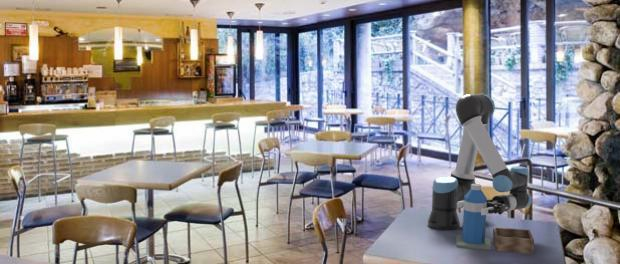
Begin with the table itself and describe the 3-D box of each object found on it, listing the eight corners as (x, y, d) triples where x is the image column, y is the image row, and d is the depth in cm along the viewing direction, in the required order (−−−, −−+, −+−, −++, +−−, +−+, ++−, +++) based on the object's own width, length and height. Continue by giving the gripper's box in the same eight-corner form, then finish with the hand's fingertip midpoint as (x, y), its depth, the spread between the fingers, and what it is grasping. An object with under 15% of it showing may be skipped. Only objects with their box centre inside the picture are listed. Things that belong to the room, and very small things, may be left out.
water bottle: (473, 245, 229) (475, 187, 226) (457, 239, 237) (460, 183, 234) (489, 242, 233) (492, 185, 230) (473, 236, 241) (476, 181, 239)
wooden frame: (495, 250, 226) (495, 236, 225) (492, 240, 240) (493, 227, 240) (533, 254, 222) (534, 239, 221) (528, 243, 236) (529, 230, 236)
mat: (456, 246, 230) (456, 244, 230) (456, 237, 244) (456, 235, 244) (491, 249, 227) (491, 247, 227) (489, 240, 240) (489, 238, 240)
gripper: (526, 217, 232) (492, 224, 222) (481, 205, 254) (448, 210, 243) (527, 200, 231) (493, 206, 221) (482, 189, 253) (448, 194, 242)
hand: (469, 208), depth 232 cm, fingers open, 13 cm apart
